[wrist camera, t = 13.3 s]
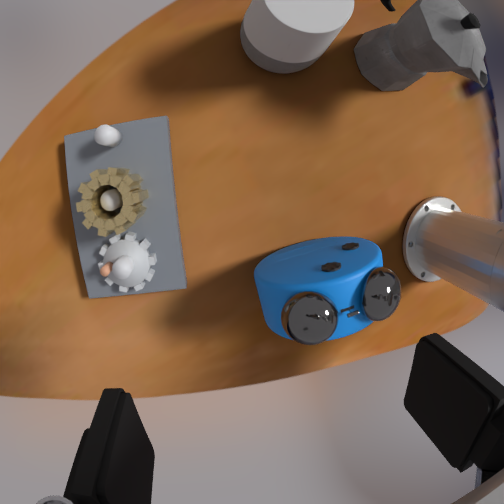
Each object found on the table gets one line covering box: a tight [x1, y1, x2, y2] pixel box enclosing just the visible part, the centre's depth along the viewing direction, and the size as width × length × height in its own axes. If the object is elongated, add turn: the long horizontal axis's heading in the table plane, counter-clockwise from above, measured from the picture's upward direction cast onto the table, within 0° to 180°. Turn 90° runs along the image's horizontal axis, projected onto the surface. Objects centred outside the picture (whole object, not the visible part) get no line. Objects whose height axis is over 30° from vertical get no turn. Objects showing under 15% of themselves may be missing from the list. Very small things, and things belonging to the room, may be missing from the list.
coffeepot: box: [354, 0, 488, 91], centre depth 24 cm, size 15×9×18 cm, turn 36°
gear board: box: [64, 116, 187, 298], centre depth 31 cm, size 12×19×6 cm, turn 5°
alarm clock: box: [254, 237, 401, 345], centre depth 31 cm, size 13×6×15 cm, turn 104°
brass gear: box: [76, 167, 149, 237], centre depth 29 cm, size 6×6×5 cm
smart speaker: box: [240, 0, 354, 73], centre depth 24 cm, size 10×9×14 cm
